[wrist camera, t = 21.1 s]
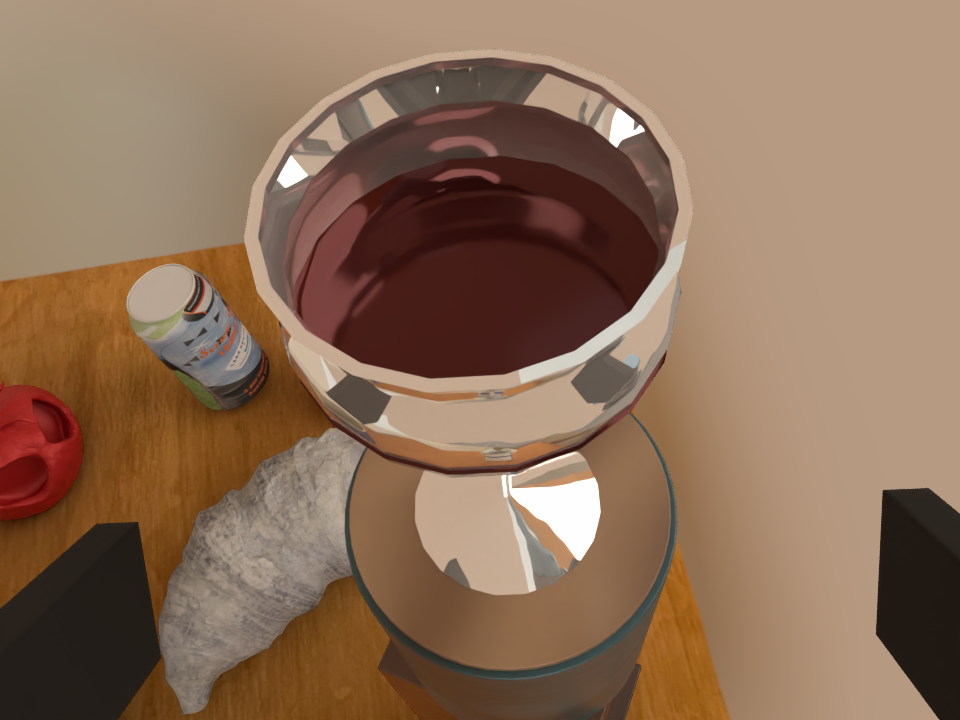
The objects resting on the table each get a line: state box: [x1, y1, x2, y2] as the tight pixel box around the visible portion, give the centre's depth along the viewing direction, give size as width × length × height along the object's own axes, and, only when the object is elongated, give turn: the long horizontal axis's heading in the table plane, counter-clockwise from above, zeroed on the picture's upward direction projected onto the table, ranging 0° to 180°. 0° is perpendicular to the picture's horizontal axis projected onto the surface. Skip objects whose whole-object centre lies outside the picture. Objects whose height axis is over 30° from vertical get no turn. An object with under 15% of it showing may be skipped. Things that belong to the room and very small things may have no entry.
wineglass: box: [244, 49, 694, 595], centre depth 18 cm, size 7×7×12 cm
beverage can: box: [126, 264, 269, 410], centre depth 62 cm, size 6×7×12 cm
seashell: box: [159, 428, 366, 715], centre depth 54 cm, size 16×15×10 cm
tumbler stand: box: [344, 412, 677, 720], centre depth 38 cm, size 10×10×35 cm
